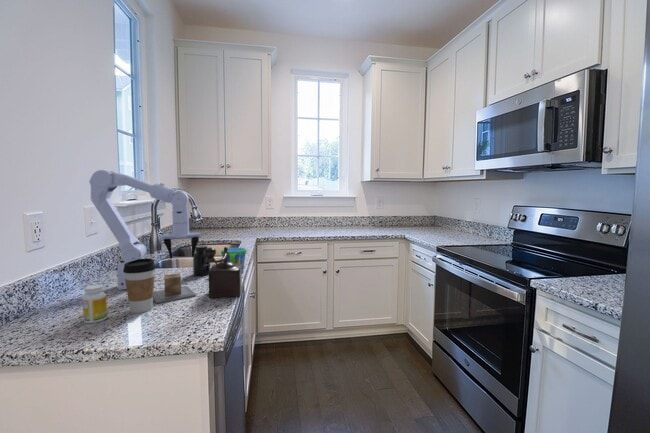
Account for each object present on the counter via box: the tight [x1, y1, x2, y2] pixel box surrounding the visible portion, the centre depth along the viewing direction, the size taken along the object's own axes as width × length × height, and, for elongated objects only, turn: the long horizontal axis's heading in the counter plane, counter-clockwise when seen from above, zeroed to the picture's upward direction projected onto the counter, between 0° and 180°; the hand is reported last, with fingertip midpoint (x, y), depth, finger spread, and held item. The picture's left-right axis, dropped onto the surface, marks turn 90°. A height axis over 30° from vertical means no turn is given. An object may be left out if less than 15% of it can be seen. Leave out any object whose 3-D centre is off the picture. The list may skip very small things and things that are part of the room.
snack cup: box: [220, 247, 247, 273], centre depth 139 cm, size 16×11×10 cm
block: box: [163, 273, 182, 296], centre depth 109 cm, size 5×5×6 cm
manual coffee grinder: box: [203, 246, 243, 299], centre depth 109 cm, size 16×11×18 cm
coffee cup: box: [123, 257, 156, 314], centre depth 96 cm, size 8×8×15 cm
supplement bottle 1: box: [82, 284, 108, 324], centre depth 89 cm, size 5×5×10 cm
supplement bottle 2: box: [192, 245, 211, 277], centre depth 136 cm, size 7×7×12 cm
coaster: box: [153, 285, 197, 305], centre depth 110 cm, size 12×12×1 cm
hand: (182, 257), depth 124 cm, fingers open, 7 cm apart
